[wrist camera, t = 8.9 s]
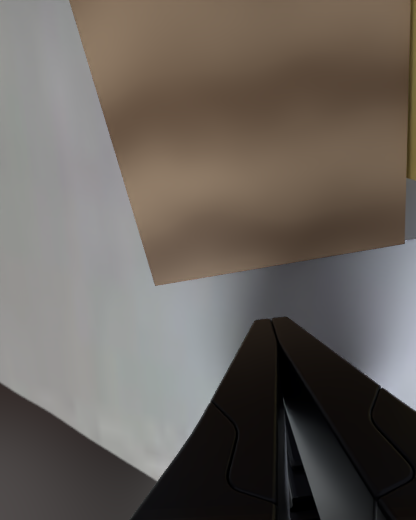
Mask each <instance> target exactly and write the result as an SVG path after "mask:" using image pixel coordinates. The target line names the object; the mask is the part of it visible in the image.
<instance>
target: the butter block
mask: <svg viewBox="0 0 416 520" xmlns="http://www.w3.org/2000/svg"><path fill="white" fill-rule="evenodd" d="M406 178H409V179H412V180H415V181H416V0H411V6H410V47H409V88H408V128H407V169H406Z"/></svg>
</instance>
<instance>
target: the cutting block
mask: <svg viewBox="0 0 416 520" xmlns="http://www.w3.org/2000/svg"><path fill="white" fill-rule="evenodd" d="M69 1H70V4H71V8H72V11H73V14H74V18H75V21H76V24H77V28H78V31H79V34H80V38H81V41H82V44H83V48H84V51H85V54H86V58H87V61H88V64H89V68H90V71H91V74H92V77H93V81H94V84H95V87H96V91H97V94H98V97H99V101H100V104H101V107H102V111H103V114H104V117H105V121H106V124H107V127H108V131H109V134H110V137H111V140H112V144H113V147H114V150H115V154H116V157H117V160H118V164H119V167H120V170H121V174H122V177H123V180H124V184H125V187H126V190H127V194H128V197H129V200H130V204H131V207H132V210H133V213H134V217H135V220H136V223H137V227H138V230H139V233H140V237H141V240H142V243H143V247H144V250H145V253H146V257H147V260H148V263H149V267H150V270H151V273H152V276H153V280H154V283H155V286H157V285H163V284H169V283H175V282H181V281H187V280H193V279H199V278H205V277H211V276H217V275H223V274H228V273H234V272H240V271H246V270H252V269H258V268H264V267H270V266H276V265H282V264H288V263H294V262H300V261H305V260H311V259H317V258H323V257H329V256H335V255H341V254H347V253H353V252H359V251H365V250H371V249H377V248H383V247H388V246H394V245H400V244H405V209H406V169H407V128H408V88H409V47H410V6H411V0H69Z"/></svg>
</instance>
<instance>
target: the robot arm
mask: <svg viewBox="0 0 416 520" xmlns="http://www.w3.org/2000/svg"><path fill="white" fill-rule="evenodd" d="M283 400H284V401H283ZM129 520H416V411H415V410H413V409H412V408H410V407H409V406H408V405H406V404H405V403H403V402H402V401H401V400H399V399H398V398H396V397H395V396H394V395H392V394H391V393H390V392H388V391H387V390H386V389H384V388H381V386H380V385H379V384H377V383H376V382H374V381H373V380H372V379H370V378H369V377H368V376H366V375H365V374H364V373H362V372H361V371H360V370H358V369H357V368H356V367H354V366H353V365H352V364H350V363H349V362H347V361H346V360H345V359H343V358H342V357H341V356H339V355H338V354H337V353H335V352H334V351H333V350H331V349H330V348H329V347H327V346H326V345H324V344H323V343H322V342H320V341H319V340H318V339H316V338H315V337H314V336H312V335H311V334H310V333H308V332H307V331H306V330H304V329H303V328H302V327H300V326H299V325H297V324H296V323H295V322H293V321H292V320H291V319H289V318H288V317H278V318H273V319H272V320H270V319H260V320H255V321H254V323H253V325H252V326H251V328H250V330H249V332H248V334H247V335H246V337H245V339H244V341H243V343H242V345H241V346H240V348H239V350H238V352H237V354H236V356H235V357H234V359H233V361H232V363H231V365H230V366H229V368H228V370H227V372H226V374H225V376H224V377H223V379H222V381H221V383H220V385H219V386H218V388H217V390H216V392H215V394H214V396H213V397H212V399H211V403H209V404H208V406H207V408H206V410H205V412H204V414H203V415H202V417H201V419H200V420H199V422H198V424H197V425H196V427H195V429H194V430H193V432H192V434H191V435H190V437H189V438H188V440H187V441H186V442H185V444H184V445H183V447H182V448H181V450H180V451H179V453H178V454H177V455H176V457H175V458H174V460H173V461H172V462H171V464H170V465H169V466H168V468H167V469H166V471H165V472H164V473H163V475H162V476H161V477H160V479H159V480H158V481H157V483H156V484H155V486H154V487H153V488H152V490H151V491H150V492H149V494H148V495H147V497H146V498H145V499H144V501H143V502H142V503H141V505H140V506H139V507H138V509H137V510H136V512H135V513H134V514H133V516H132V517H131V518H130V519H129Z"/></svg>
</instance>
